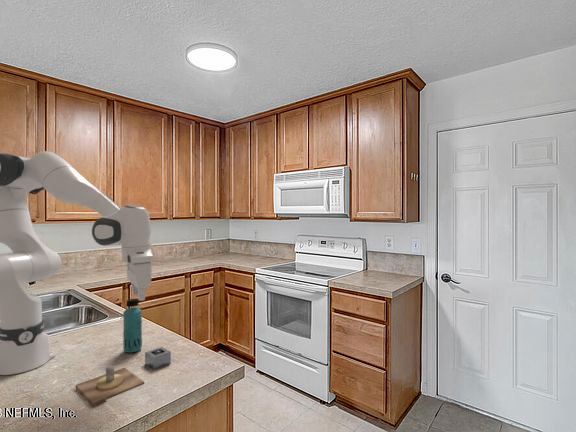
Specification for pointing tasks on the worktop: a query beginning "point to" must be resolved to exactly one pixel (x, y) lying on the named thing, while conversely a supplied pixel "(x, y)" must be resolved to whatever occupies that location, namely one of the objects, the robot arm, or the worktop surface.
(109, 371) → the brown square board
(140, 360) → the worktop surface
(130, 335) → the beverage bottle
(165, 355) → the square metal tube
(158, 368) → the stand
